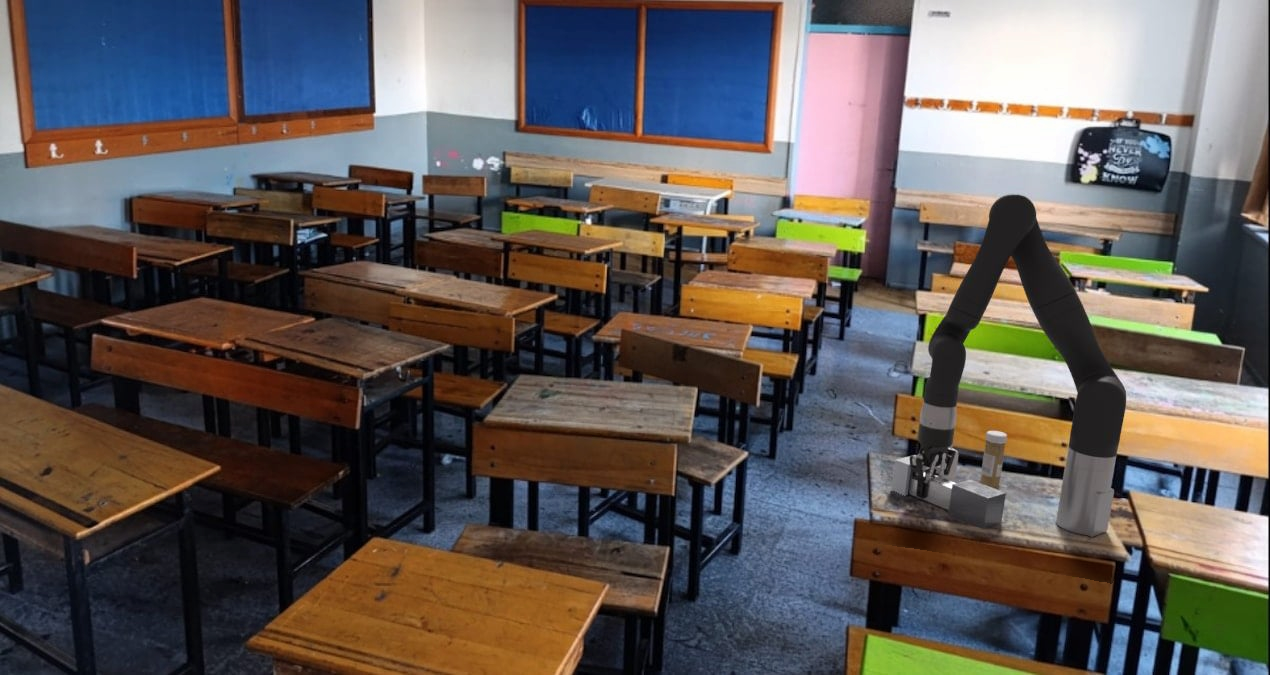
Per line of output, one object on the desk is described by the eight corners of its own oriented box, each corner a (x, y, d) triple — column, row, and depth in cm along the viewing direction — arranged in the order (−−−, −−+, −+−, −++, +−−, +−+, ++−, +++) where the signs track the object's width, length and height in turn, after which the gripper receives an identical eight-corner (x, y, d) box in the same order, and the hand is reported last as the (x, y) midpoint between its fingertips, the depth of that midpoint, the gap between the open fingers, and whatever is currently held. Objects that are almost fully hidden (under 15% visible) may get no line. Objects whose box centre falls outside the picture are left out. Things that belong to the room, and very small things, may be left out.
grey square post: (971, 511, 208) (974, 490, 207) (960, 515, 206) (963, 493, 205) (911, 487, 220) (914, 467, 219) (900, 490, 218) (903, 469, 217)
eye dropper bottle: (931, 476, 230) (937, 428, 227) (955, 480, 228) (962, 433, 225) (928, 481, 226) (935, 433, 223) (953, 486, 224) (959, 437, 221)
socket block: (923, 490, 220) (928, 460, 218) (904, 496, 216) (908, 464, 214) (910, 485, 223) (914, 455, 221) (891, 490, 218) (895, 459, 217)
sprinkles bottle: (1002, 491, 223) (1011, 436, 220) (984, 490, 222) (992, 435, 219) (993, 483, 227) (1001, 430, 224) (975, 483, 226) (983, 429, 224)
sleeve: (1001, 522, 204) (1005, 493, 202) (983, 528, 200) (988, 498, 198) (965, 508, 210) (970, 479, 209) (948, 513, 207) (952, 484, 205)
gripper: (931, 432, 204) (921, 507, 208) (971, 423, 212) (961, 495, 216) (902, 422, 210) (893, 495, 213) (942, 414, 218) (933, 484, 222)
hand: (927, 495), depth 215 cm, fingers closed on grey square post, 4 cm apart
